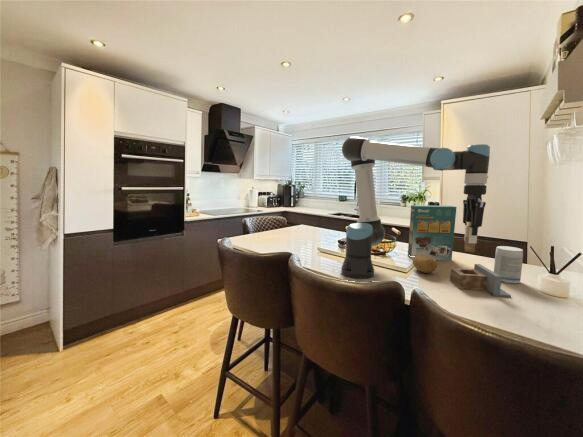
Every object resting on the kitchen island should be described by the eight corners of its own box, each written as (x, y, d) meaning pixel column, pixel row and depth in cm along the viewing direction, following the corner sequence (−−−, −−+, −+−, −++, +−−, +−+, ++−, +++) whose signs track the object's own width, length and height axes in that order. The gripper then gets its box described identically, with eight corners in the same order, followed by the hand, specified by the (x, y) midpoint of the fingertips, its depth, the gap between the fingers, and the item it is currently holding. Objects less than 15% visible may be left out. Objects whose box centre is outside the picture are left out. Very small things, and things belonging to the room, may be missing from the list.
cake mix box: (446, 257, 159) (451, 205, 155) (451, 260, 153) (456, 206, 149) (407, 256, 161) (411, 205, 157) (411, 258, 155) (414, 206, 151)
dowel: (466, 251, 111) (469, 222, 110) (462, 249, 115) (465, 221, 113) (476, 252, 111) (478, 223, 109) (471, 250, 114) (474, 221, 113)
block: (459, 289, 112) (460, 274, 111) (449, 281, 120) (451, 268, 120) (485, 290, 110) (487, 276, 109) (474, 282, 119) (475, 269, 118)
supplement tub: (525, 283, 119) (530, 250, 116) (508, 285, 116) (512, 251, 114) (503, 275, 128) (507, 245, 126) (487, 277, 126) (490, 246, 124)
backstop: (493, 296, 105) (495, 276, 104) (472, 281, 120) (474, 263, 119) (510, 297, 104) (513, 277, 103) (487, 282, 120) (489, 264, 118)
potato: (425, 267, 140) (426, 252, 139) (441, 276, 126) (443, 259, 125) (406, 267, 140) (407, 252, 138) (421, 276, 126) (422, 260, 125)
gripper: (497, 184, 101) (491, 247, 104) (475, 184, 116) (470, 238, 120) (474, 184, 102) (469, 246, 105) (456, 184, 118) (452, 237, 121)
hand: (470, 242), depth 112 cm, fingers closed on dowel, 3 cm apart
